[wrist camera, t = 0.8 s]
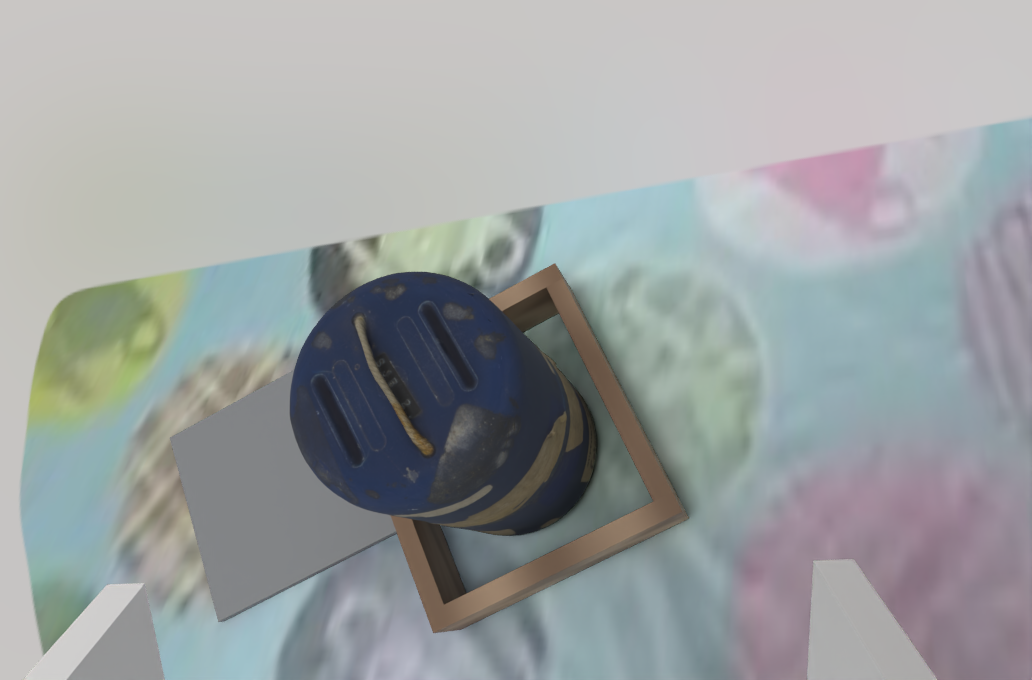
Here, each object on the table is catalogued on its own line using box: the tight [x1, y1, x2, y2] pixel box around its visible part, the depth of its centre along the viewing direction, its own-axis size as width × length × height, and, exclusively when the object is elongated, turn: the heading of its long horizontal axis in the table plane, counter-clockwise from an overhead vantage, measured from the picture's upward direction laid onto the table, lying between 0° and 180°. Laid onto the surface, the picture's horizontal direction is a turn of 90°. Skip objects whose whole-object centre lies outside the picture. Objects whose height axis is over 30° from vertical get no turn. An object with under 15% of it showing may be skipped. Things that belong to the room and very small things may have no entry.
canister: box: [290, 272, 597, 536], centre depth 37 cm, size 10×10×18 cm
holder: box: [390, 264, 689, 633], centre depth 44 cm, size 14×14×4 cm
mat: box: [170, 370, 397, 622], centre depth 49 cm, size 12×12×1 cm
